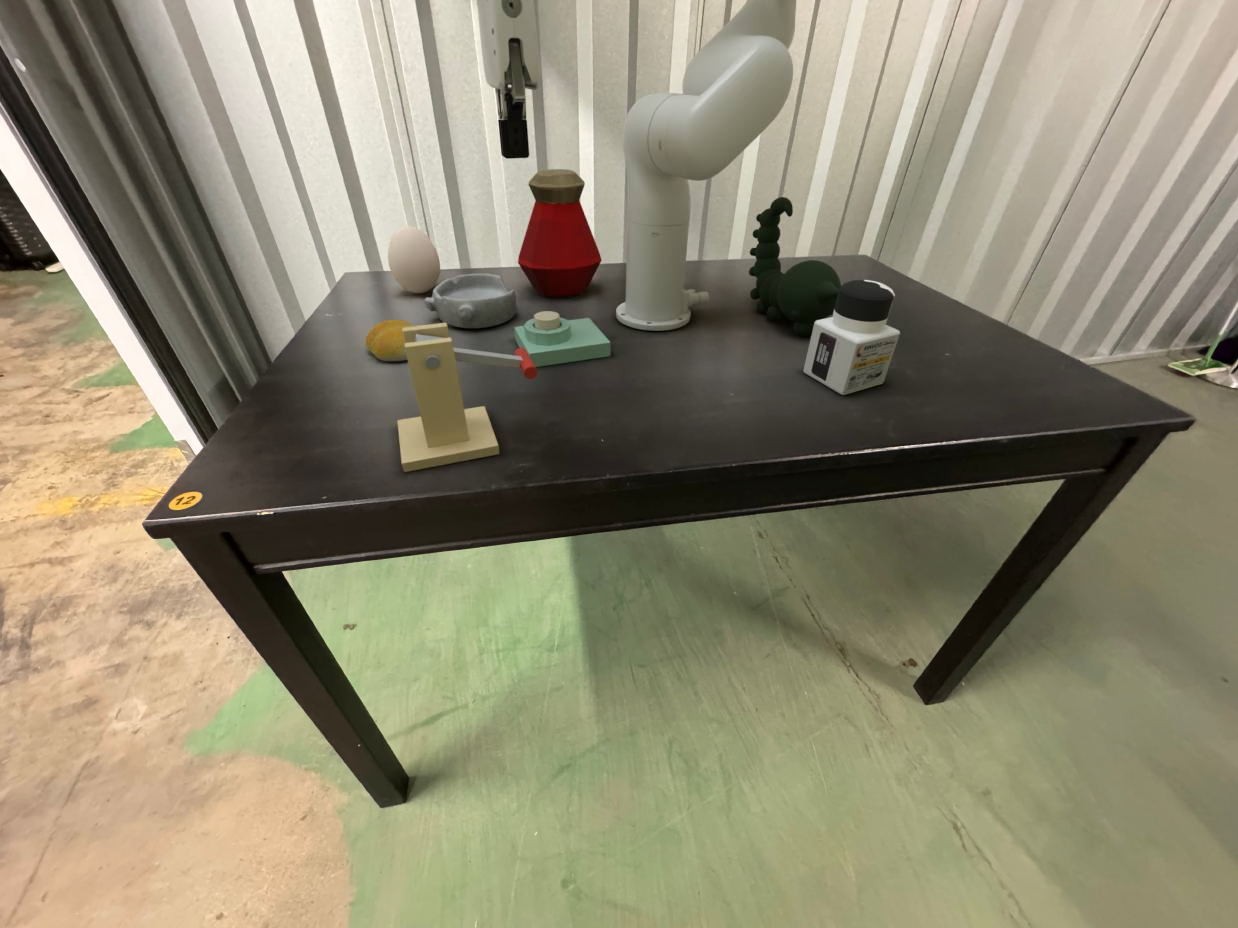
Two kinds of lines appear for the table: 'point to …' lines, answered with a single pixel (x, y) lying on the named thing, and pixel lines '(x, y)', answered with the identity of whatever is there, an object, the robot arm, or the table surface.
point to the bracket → (440, 407)
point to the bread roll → (388, 340)
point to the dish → (473, 301)
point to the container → (854, 339)
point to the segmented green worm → (790, 277)
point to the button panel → (562, 342)
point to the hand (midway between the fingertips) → (515, 157)
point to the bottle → (558, 237)
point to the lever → (492, 357)
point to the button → (547, 320)
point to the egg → (413, 260)
